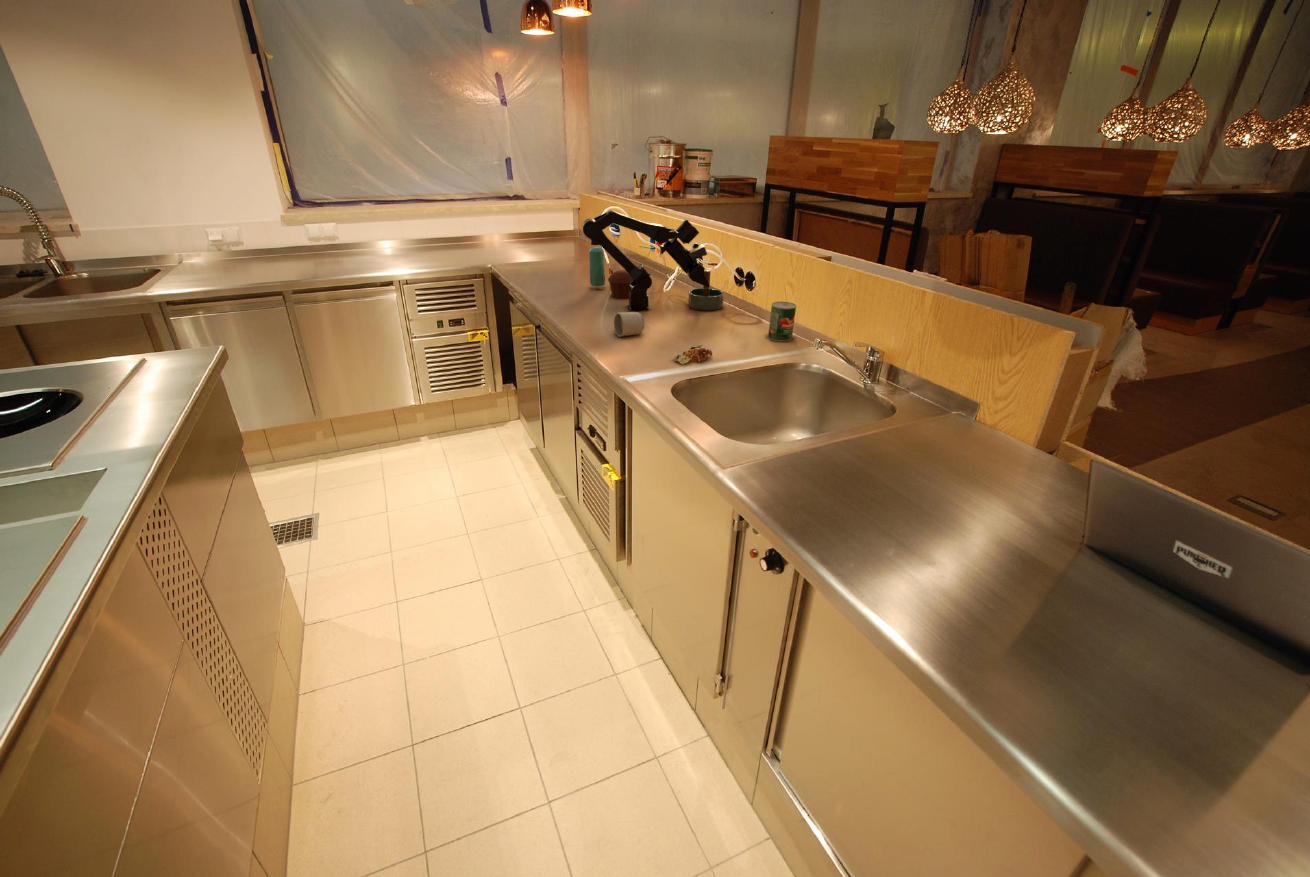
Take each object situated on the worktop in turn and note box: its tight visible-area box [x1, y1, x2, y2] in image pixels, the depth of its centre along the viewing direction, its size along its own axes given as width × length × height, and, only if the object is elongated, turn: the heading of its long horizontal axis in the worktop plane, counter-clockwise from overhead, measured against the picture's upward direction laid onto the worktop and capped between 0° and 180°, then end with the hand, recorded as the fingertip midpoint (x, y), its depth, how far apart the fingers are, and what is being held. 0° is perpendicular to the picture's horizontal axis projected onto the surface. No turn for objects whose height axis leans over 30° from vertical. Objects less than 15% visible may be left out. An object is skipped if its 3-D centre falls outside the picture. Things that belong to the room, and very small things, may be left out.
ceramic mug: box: [613, 311, 645, 338], centre depth 189 cm, size 11×8×8 cm
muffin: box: [607, 269, 633, 300], centre depth 230 cm, size 12×11×10 cm
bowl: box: [687, 287, 725, 312], centre depth 220 cm, size 13×13×6 cm
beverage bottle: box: [588, 239, 606, 287], centre depth 239 cm, size 6×7×20 cm
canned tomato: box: [767, 301, 797, 342], centre depth 187 cm, size 8×8×11 cm
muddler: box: [702, 269, 711, 297], centre depth 218 cm, size 4×4×13 cm
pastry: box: [674, 344, 713, 365], centre depth 170 cm, size 7×12×4 cm, turn 134°
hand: (706, 283), depth 217 cm, fingers open, 9 cm apart
